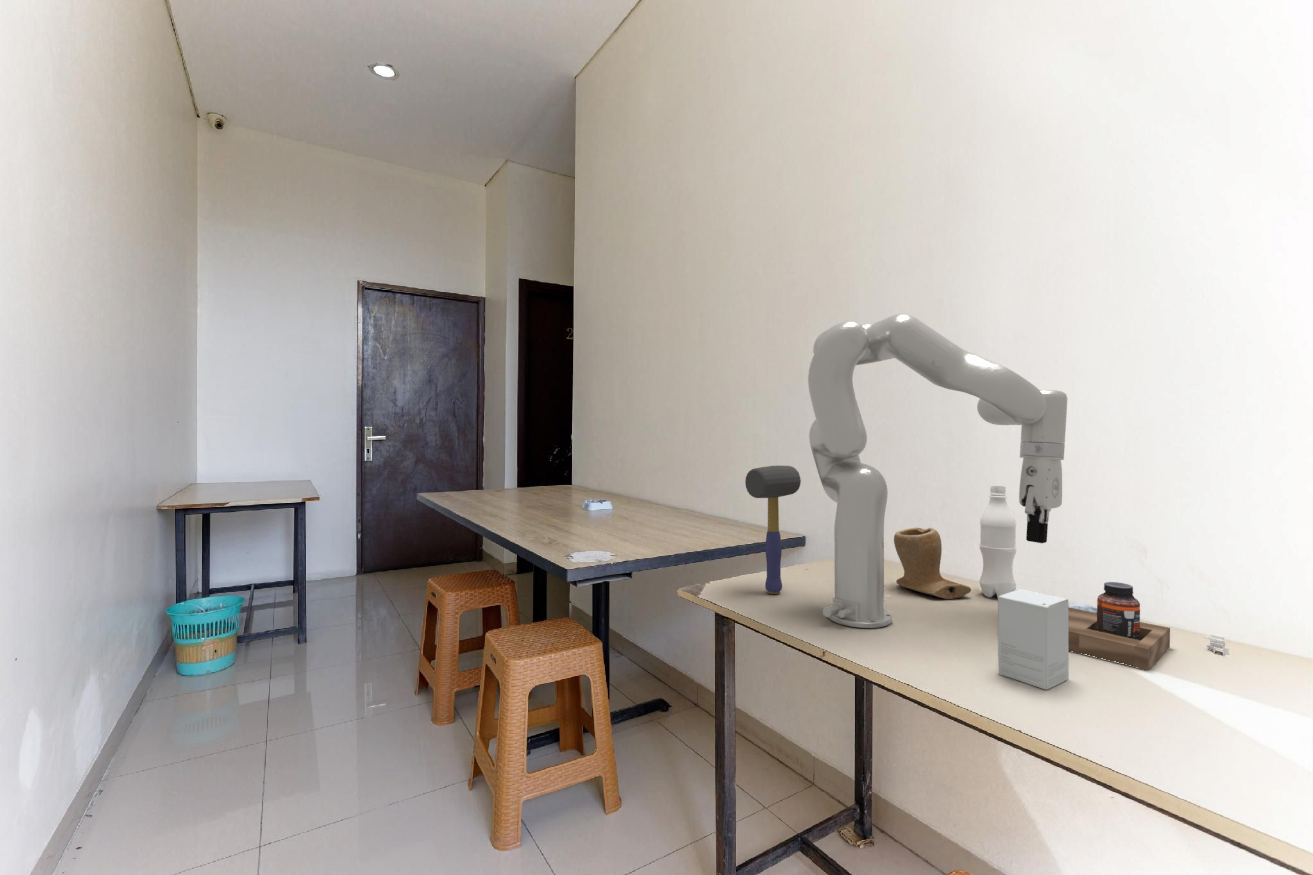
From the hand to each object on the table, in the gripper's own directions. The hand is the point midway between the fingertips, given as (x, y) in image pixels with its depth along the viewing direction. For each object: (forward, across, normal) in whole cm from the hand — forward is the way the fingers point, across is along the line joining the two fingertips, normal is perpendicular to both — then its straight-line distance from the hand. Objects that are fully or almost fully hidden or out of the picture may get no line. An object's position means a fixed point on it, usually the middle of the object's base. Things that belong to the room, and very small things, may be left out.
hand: (1036, 541), depth 121 cm
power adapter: (+15, +2, -27) cm, 31 cm away
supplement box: (+17, -31, -11) cm, 37 cm away
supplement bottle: (+15, -8, -16) cm, 24 cm away
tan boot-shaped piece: (+16, +1, +22) cm, 28 cm away
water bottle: (+16, +10, +10) cm, 21 cm away
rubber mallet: (+18, -26, +45) cm, 55 cm away
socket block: (+15, -8, -11) cm, 20 cm away
